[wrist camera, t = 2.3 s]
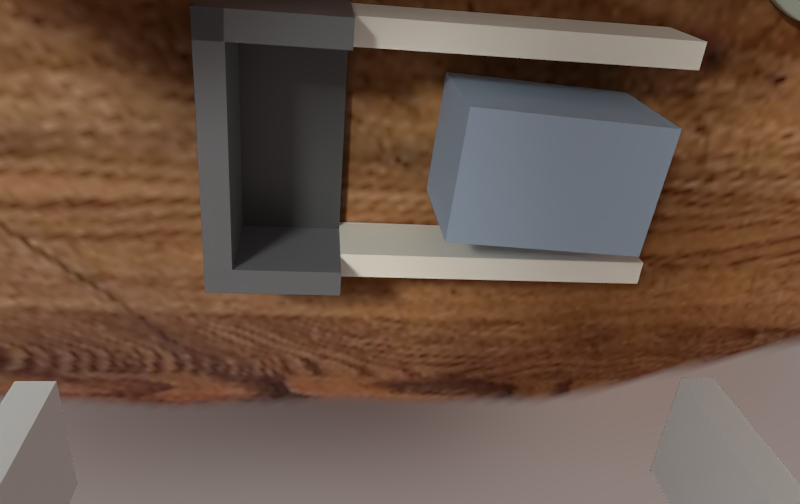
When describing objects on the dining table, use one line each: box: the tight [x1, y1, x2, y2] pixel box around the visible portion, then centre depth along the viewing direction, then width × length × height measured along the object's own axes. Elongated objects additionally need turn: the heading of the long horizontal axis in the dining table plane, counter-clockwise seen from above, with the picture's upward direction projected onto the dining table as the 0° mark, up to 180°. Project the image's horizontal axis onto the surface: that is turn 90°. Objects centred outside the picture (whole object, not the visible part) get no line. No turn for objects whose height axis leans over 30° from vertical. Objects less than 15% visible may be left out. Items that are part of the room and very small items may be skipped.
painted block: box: [427, 72, 682, 257], centre depth 31 cm, size 9×6×6 cm, turn 82°
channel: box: [339, 3, 707, 284], centre depth 32 cm, size 15×12×4 cm
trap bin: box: [190, 0, 355, 296], centre depth 30 cm, size 6×12×5 cm, turn 175°
